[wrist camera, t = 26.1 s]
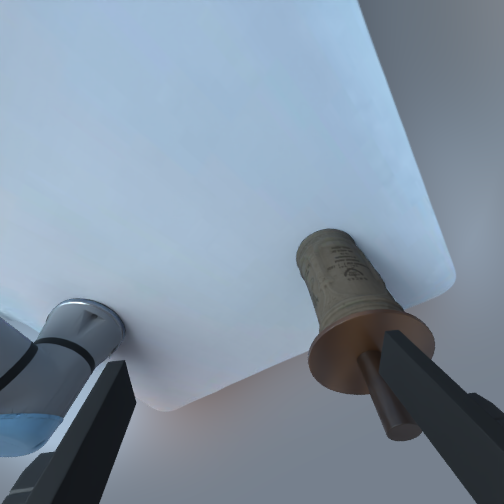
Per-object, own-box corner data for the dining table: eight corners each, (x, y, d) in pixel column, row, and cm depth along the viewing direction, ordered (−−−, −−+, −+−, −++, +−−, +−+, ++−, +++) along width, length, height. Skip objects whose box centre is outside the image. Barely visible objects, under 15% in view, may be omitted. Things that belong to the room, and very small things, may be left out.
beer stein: (291, 230, 43) (316, 320, 26) (355, 218, 41) (424, 304, 25) (301, 295, 51) (325, 395, 34) (355, 286, 50) (407, 386, 33)
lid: (308, 393, 33) (322, 470, 26) (307, 314, 26) (326, 389, 19) (417, 387, 32) (464, 466, 25) (446, 303, 25) (521, 378, 18)
